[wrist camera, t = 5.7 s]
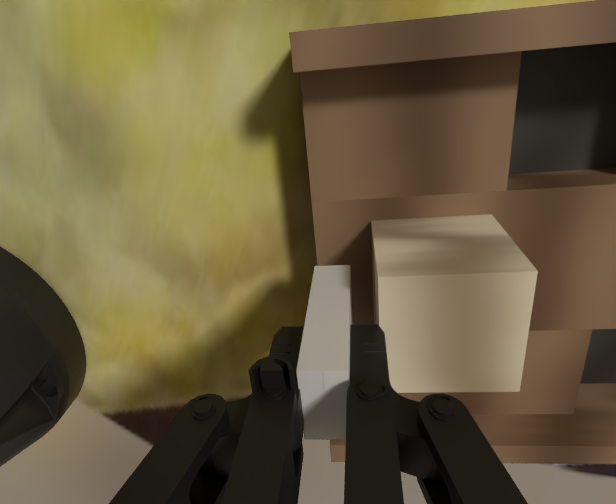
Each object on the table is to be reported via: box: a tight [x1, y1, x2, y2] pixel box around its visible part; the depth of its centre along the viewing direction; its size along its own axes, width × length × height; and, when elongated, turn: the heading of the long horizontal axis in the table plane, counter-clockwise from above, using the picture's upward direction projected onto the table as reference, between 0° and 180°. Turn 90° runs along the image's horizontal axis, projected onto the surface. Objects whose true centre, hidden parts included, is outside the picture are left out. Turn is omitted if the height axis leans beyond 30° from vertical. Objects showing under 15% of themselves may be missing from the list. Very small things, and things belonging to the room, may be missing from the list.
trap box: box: [289, 0, 616, 464], centre depth 19 cm, size 24×20×4 cm
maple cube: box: [371, 214, 538, 393], centre depth 17 cm, size 5×5×5 cm
